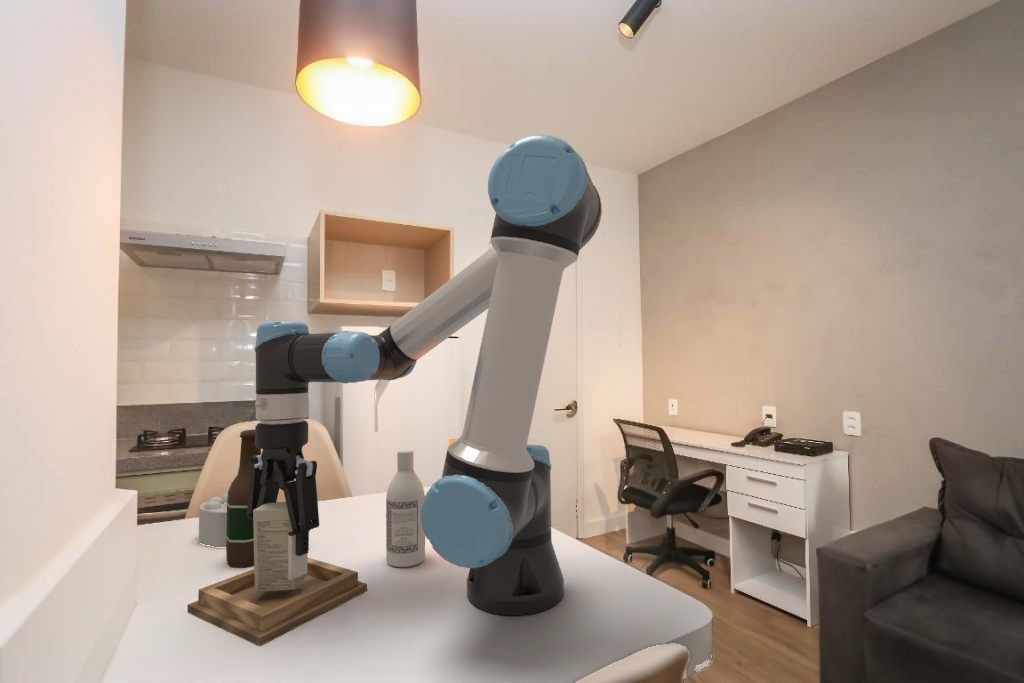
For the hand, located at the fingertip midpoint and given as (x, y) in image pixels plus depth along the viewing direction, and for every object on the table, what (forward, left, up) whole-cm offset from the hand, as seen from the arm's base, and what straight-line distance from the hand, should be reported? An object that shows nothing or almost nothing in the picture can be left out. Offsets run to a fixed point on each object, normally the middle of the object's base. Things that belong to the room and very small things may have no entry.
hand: (281, 570), depth 76 cm
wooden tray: (0, 0, -4) cm, 5 cm away
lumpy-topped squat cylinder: (+36, -12, -5) cm, 38 cm away
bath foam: (-6, -21, -5) cm, 22 cm away
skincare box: (0, 0, -2) cm, 2 cm away
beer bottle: (+20, -7, -5) cm, 22 cm away
